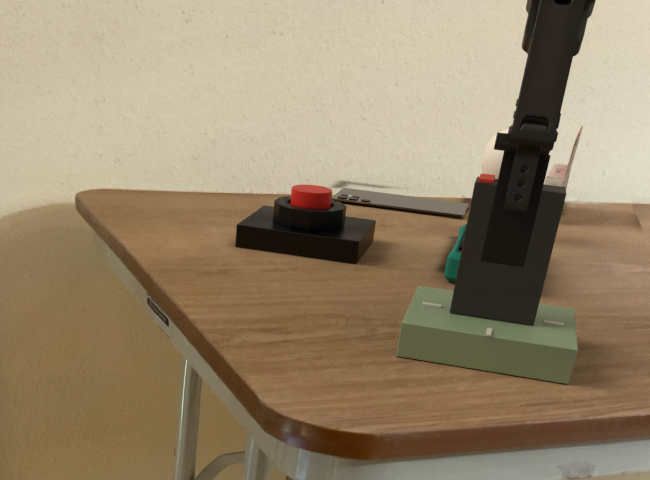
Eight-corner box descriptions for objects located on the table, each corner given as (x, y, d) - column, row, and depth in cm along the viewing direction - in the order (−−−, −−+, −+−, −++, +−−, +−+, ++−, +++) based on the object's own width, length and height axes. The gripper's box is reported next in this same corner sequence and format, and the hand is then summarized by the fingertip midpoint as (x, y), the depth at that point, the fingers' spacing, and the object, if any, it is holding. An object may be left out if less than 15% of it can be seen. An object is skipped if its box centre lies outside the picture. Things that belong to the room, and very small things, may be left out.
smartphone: (463, 215, 104) (331, 195, 107) (462, 220, 104) (330, 200, 107) (468, 203, 110) (343, 185, 113) (468, 208, 110) (343, 189, 114)
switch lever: (533, 315, 65) (566, 183, 60) (533, 325, 63) (567, 189, 58) (452, 303, 66) (477, 172, 61) (449, 312, 64) (475, 178, 59)
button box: (373, 242, 92) (378, 201, 90) (356, 265, 83) (362, 221, 81) (262, 226, 94) (265, 187, 92) (235, 247, 86) (237, 204, 84)
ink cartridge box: (535, 221, 106) (555, 132, 101) (543, 205, 115) (563, 123, 110) (556, 224, 105) (578, 135, 100) (563, 208, 114) (583, 125, 109)
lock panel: (565, 339, 69) (574, 305, 68) (568, 385, 61) (579, 348, 59) (413, 315, 71) (418, 283, 70) (395, 356, 63) (401, 320, 62)
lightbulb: (489, 245, 94) (513, 132, 88) (455, 231, 99) (476, 123, 93) (534, 243, 96) (560, 133, 90) (499, 229, 101) (522, 124, 95)
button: (334, 206, 88) (336, 187, 87) (325, 214, 85) (328, 194, 84) (295, 201, 89) (296, 182, 88) (285, 208, 86) (287, 189, 85)
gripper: (528, -118, 62) (465, 201, 73) (521, -182, 41) (434, 275, 52) (641, -111, 60) (558, 213, 71) (691, -174, 39) (564, 295, 51)
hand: (505, 240), depth 62 cm, fingers open, 13 cm apart
